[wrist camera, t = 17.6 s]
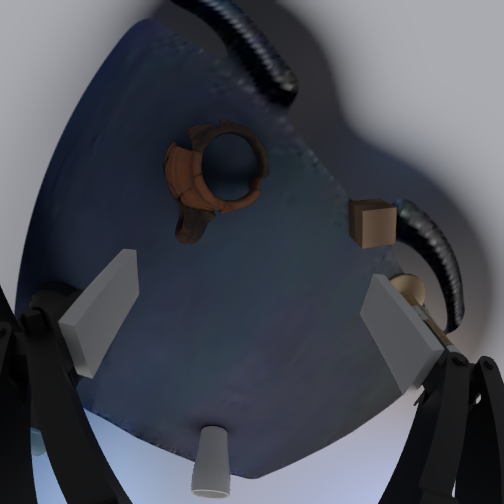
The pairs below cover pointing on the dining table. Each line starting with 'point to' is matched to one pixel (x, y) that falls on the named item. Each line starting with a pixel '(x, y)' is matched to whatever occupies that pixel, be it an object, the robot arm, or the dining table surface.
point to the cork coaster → (409, 286)
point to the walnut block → (372, 223)
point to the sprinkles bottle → (429, 320)
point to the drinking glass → (212, 464)
